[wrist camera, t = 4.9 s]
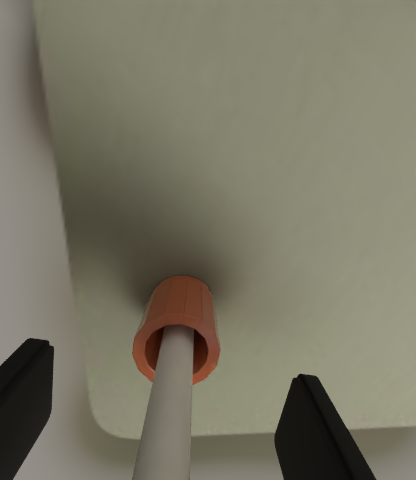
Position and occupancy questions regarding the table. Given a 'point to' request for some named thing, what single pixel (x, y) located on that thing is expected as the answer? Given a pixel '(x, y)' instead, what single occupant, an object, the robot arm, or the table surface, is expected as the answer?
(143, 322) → the pen holder
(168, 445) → the stylus
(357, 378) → the table surface
